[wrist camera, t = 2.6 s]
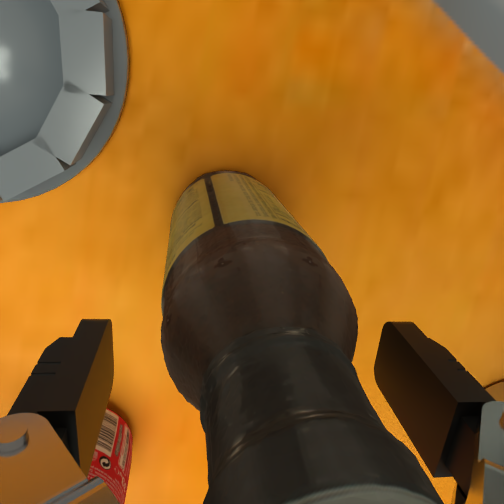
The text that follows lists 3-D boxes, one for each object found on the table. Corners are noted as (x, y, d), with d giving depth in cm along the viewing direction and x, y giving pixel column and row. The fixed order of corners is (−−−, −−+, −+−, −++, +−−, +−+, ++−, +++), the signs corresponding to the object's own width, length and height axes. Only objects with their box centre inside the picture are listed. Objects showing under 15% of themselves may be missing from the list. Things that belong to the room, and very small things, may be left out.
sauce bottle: (194, 280, 26) (180, 758, 7) (156, 185, 23) (-3, 536, 5) (293, 248, 26) (527, 645, 7) (265, 149, 23) (507, 370, 5)
